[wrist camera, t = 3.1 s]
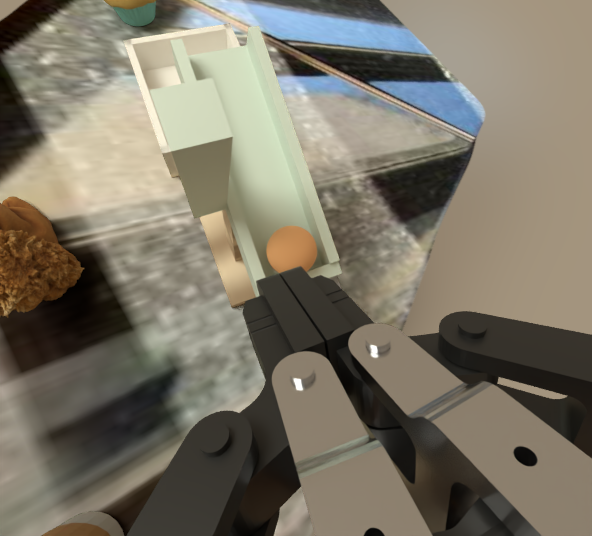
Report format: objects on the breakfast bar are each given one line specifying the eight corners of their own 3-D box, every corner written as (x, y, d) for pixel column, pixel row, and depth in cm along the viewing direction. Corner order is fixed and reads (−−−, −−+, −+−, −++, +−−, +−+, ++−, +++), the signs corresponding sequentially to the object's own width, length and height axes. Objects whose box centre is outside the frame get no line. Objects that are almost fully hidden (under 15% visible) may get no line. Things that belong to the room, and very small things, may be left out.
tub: (274, 151, 43) (276, 126, 38) (171, 177, 40) (162, 153, 35) (231, 55, 46) (229, 23, 42) (135, 73, 43) (123, 40, 39)
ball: (256, 265, 25) (267, 277, 22) (267, 218, 24) (280, 222, 21) (300, 273, 26) (317, 286, 23) (312, 229, 26) (330, 234, 22)
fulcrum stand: (316, 277, 38) (341, 239, 28) (231, 307, 36) (224, 279, 25) (278, 189, 41) (287, 125, 31) (197, 212, 39) (178, 151, 28)
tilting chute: (345, 315, 30) (473, 341, 15) (242, 356, 28) (271, 436, 13) (260, 70, 30) (303, -158, 14) (150, 92, 27) (64, -152, 12)
